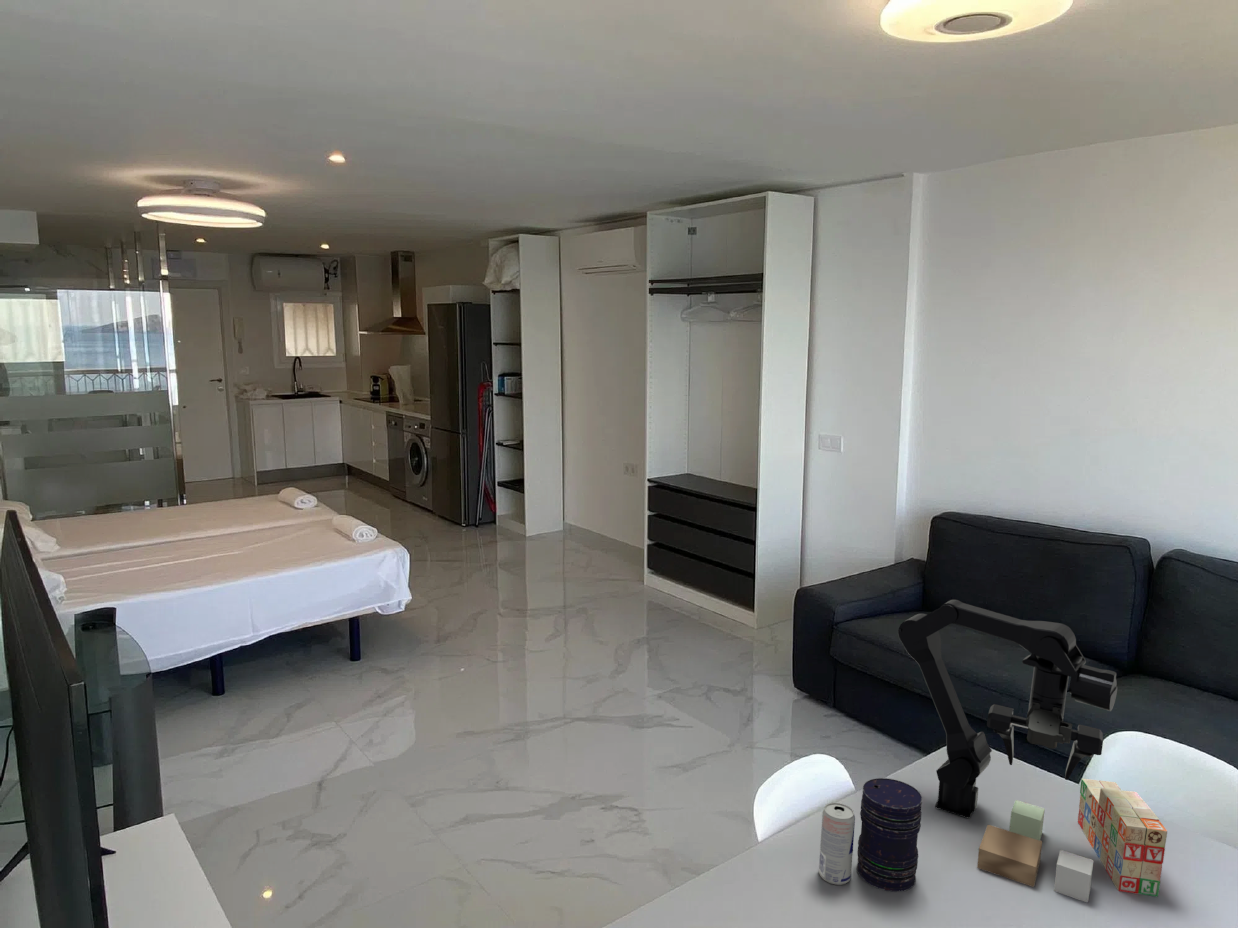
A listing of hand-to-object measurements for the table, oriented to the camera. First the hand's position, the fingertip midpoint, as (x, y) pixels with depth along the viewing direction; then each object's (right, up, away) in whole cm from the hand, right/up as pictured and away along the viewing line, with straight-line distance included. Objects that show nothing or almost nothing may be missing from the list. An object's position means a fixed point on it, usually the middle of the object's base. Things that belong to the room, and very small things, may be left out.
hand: (1038, 771), depth 151 cm
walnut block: (-9, -14, -7) cm, 18 cm away
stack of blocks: (+12, -14, -4) cm, 19 cm away
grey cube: (-1, -15, -14) cm, 20 cm away
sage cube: (-1, -13, +2) cm, 13 cm away
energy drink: (-41, -14, -12) cm, 45 cm away
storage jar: (-32, -14, -11) cm, 36 cm away
